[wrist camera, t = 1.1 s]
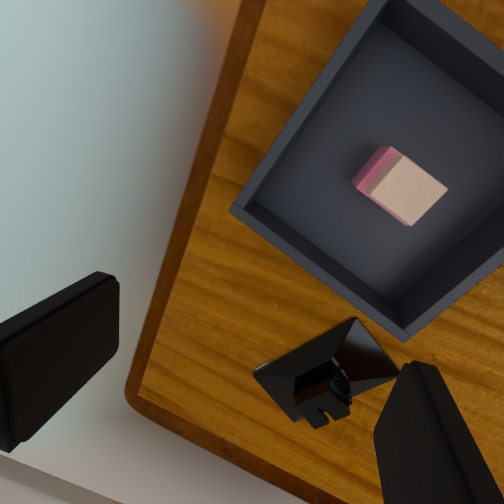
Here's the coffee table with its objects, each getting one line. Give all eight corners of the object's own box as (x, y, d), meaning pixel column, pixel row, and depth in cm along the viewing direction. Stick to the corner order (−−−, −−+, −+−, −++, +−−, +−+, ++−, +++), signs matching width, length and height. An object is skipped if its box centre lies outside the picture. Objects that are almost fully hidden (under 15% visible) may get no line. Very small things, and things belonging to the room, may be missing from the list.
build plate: (294, 419, 32) (289, 461, 28) (250, 370, 31) (238, 405, 27) (401, 372, 27) (415, 414, 23) (354, 313, 26) (359, 345, 22)
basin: (377, 6, 19) (393, -36, 15) (566, 153, 19) (637, 154, 15) (244, 200, 25) (227, 211, 21) (390, 309, 26) (403, 343, 21)
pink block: (379, 146, 21) (399, 145, 16) (424, 180, 21) (460, 192, 16) (350, 181, 22) (359, 192, 17) (392, 213, 22) (415, 235, 17)
